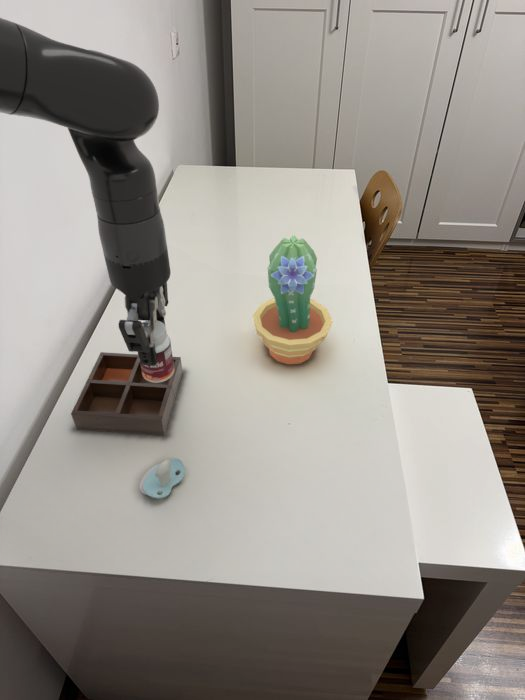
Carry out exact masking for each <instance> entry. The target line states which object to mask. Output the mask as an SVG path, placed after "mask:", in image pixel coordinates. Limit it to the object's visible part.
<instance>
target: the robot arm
mask: <svg viewBox="0 0 525 700" xmlns="http://www.w3.org/2000/svg"><path fill="white" fill-rule="evenodd" d="M159 101H160V100H159V96H158V92H157V89H156V86H155V85H154V83H153V80H151V78H150V77H149V76H148V74H147V73H146V72H145V71H144V70H143V69H141V67H139V66H138V65H136V64H134V63H133V62H131V61H128V60H125V59H122V58H120V57H116V56H113V55H110V54H107V53H104V52H101V51H97V50H94V49H93V50H92V49H86V48H82V47H79V46H75V45H72V44H69V43H64V42H62V41H61V42H60V41H57V40H55V39H52V38H50V37H48V36H45V35H44V34H41V33H39V32H37V31H35V30H33V29H31V28H29V27H26V26H24V25H22V24H19V23H16V22H14V21H11V20H9V19H5V18H2V17H0V114H3V115H8V116H9V115H10V116H15V117H16V116H17V117H23V118H31V119H36V120H41V121H45V122H49V123H52V124H55V125H58V126H61V127H64V128H67V130H68V132H69V135H70V138H71V140H72V143H73V145H74V147H75V149H76V151H77V154H78V157H79V159H80V160H81V162H82V164H83V166H84V169H85V172H86V173H87V176H88V180H89V186H90V191H91V195H92V200H93V205H94V208H95V212H96V218H97V228H98V235H99V240H100V244H101V248H102V249H101V250H102V252H103V257H104V261H105V266H106V270H107V274H108V279H109V282H110V284H111V285H112V286H113V288H115V289H116V290H118V291H119V292H121V294H123V295H124V308H125V309H126V313H127V317H126V319H119V321H118V329H119V332H120V334H121V336H122V338H123V341H124V344H125V345H126V348H127V350H128V352H131V353H133V352H137V354H138V353H139V358H140V363H141V364H142V365H149V366H155V365H156V363H157V355H156V350H155V344H154V334H153V331H154V330H155V328H156V327H157V320H158V321H160V322H162V323H164V325H165V327H166V328H167V326H166V321H165V320H166V319H165V317H166V314H167V311H166V308H165V307H168V305H169V294H168V281H169V280H170V277H171V265H170V258H169V249H168V243H167V234H166V227H165V223H164V219H163V216H162V212H161V207H160V201H159V194H158V193H159V192H158V188H157V187H158V186H157V181H156V180H157V179H156V173H155V170H154V166H153V165H152V163H151V160H150V159H148V157H147V156H145V154H143V152H142V151H141V150H140V149H139V148H138V146H137V145H136V143H135V140H137V139H140V138H142V137H143V136H145V135H146V134H147V133H149V131H151V130H152V128H153V127H154V125H155V124H156V121H157V120H158V117H159V111H160V102H159ZM148 320H150V323H143V322H145V321H148ZM142 321H143V322H142ZM145 331H146V332H147V337H146V334H145Z"/></svg>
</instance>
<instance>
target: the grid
mask: <svg viewBox="0 0 525 700" xmlns="http://www.w3.org/2000/svg"><path fill="white" fill-rule="evenodd" d="M173 363H174V373H173V375H172V376H171V377H170V378H169V379H168V380H166V381H164V382H160V383H153V382H149V381H147V380H146V379H145V378H144V377H143V375H142V371H141V365H140V361H139V356H138V353H137V354H136V353H122V352H121V353H119V352H103V351H101V352H100V353H99V355H98V357H97V359H96V361H95V363H94V365H93V367H92V369H91V371H90V373H89V376H88V378H87V380H86V382H85V384H84V386H83V387H82V390H81V392H80V394H79V396H78V398H77V400H76V402H75V404H74V406H73V409H72V410H71V412H70V415H71V418H72V420H73V423H74V426H75V428H76V430H84V431H95V432H111V433H123V434H137V435H152V436H165V435H166V432H167V429H168V426H169V423H170V422H169V421H170V418H171V414H172V411H173V407H174V404H175V401H176V397H177V394H178V390H179V387H180V385H181V380H182V377H183V373H184V372H183V365H182V358H181V356H173Z"/></svg>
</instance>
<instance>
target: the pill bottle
mask: <svg viewBox="0 0 525 700" xmlns="http://www.w3.org/2000/svg"><path fill="white" fill-rule="evenodd" d="M143 323H150V320H147V321H145V320H144V321H143ZM165 326H166V324H165V325H164V323H162V322H160V321H158V320H157V327H156V328H155V330H154V331H153V334H154V344H155V350H156V355H157V363H156V365H155V366H149V365H142V364H141V363H140V365H141V371H142V375H143V377H144V378H145V379H146V380H147V381H149V382H153V383H160V382H164V381H166V380H168V379H169V378H170V377H171V376H172V375H173V373H174V363H173V357H174V356H173V351H172V343H171V338H170V335H169V334H168V333H167V326H166V327H165ZM145 334H146V337H147V332H146V331H145ZM137 354H138V356H139V353H138V352H137ZM139 361H140V358H139Z"/></svg>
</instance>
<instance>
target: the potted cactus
mask: <svg viewBox="0 0 525 700" xmlns="http://www.w3.org/2000/svg"><path fill="white" fill-rule="evenodd" d="M317 260H318V257H317V255H316V253H315V250H314V249H313V248H312V247H311V245H310V244H309V243H308V242H307V241H306V240H305V238H300V239H298V238H297V235H292V236H291V237H290V238H289V239H288V238H286V237H283V238H282V239H281V240H280V242H279V243H278V244H277V245H276V246H275V247H274V248H273V250H272V251H271V252H270V254H269V264H268V266H267V279H268V288H269V290H270V293H272V295H273V298H271V299H269V300H266V301H264V302H262V303H260V304H259V305H258V307H257V308H256V310H255V312H254V313H253V315H252V318H253V323H254V329H255V332H256V335H258V336H259V337H260V339H261V340H262V342H263V344H264V346H266V347H267V348H268V352H269V356H271V358H273V359H274V360H275V361H277V362H278V363H283V364H286V365H297V364H302V363H303V362H306V361H308V360H310V359H311V356H312V354H313V352H314V351H315V350H316V349H317V348H318V346H319V345H320V343H321V342H323V341H324V340H325V339H326V337H327V335H328V333H329V332H330V329H331V326H332V324H333V320H332V317H331V314H330V312H329V310H328V308H327V307H325V306H323V305H322V304H320V303H319V302H318V301H316V300H315V299H311V297H312V294H313V292H314V290H315V284H316V278H317V271H318V269H317V268H316V267H317Z"/></svg>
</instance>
